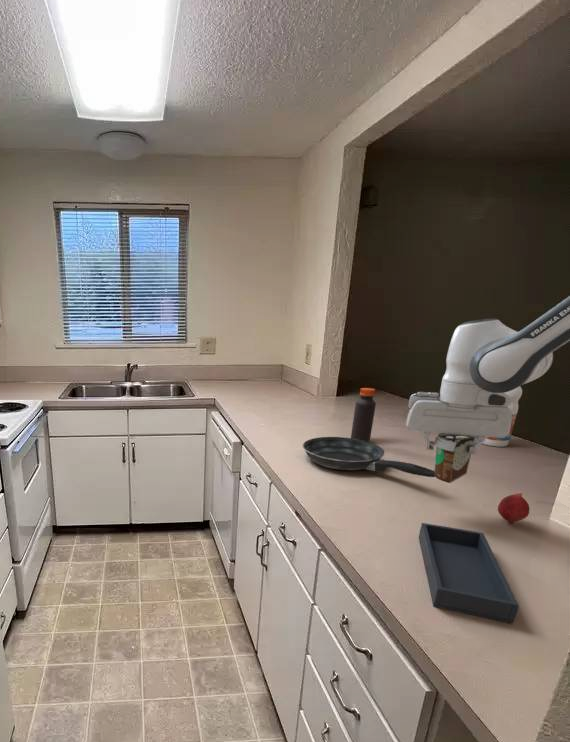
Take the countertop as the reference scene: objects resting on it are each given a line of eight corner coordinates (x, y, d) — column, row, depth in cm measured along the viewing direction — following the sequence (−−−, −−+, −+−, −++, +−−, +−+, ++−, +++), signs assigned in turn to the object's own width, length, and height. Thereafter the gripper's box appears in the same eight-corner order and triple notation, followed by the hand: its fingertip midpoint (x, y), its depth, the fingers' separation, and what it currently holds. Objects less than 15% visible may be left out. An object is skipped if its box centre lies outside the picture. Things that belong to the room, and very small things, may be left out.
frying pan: (285, 456, 150) (287, 438, 147) (337, 445, 160) (340, 427, 158) (400, 506, 113) (405, 483, 111) (458, 487, 124) (463, 465, 121)
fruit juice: (487, 438, 166) (506, 364, 156) (514, 445, 158) (536, 367, 148) (471, 441, 163) (489, 366, 153) (497, 448, 155) (518, 369, 145)
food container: (441, 466, 111) (448, 428, 108) (468, 472, 106) (476, 433, 103) (419, 477, 104) (425, 437, 101) (447, 484, 100) (455, 443, 96)
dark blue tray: (479, 547, 94) (483, 532, 93) (513, 624, 72) (519, 605, 71) (418, 537, 99) (421, 522, 97) (433, 606, 77) (437, 588, 75)
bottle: (354, 444, 162) (362, 391, 155) (347, 438, 168) (354, 387, 161) (372, 444, 161) (381, 390, 154) (365, 438, 168) (373, 387, 161)
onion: (499, 526, 103) (508, 495, 100) (491, 515, 108) (499, 486, 105) (529, 529, 101) (538, 498, 98) (518, 518, 106) (527, 488, 104)
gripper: (411, 393, 100) (401, 450, 104) (521, 399, 92) (504, 460, 96) (409, 388, 105) (400, 442, 110) (512, 393, 97) (497, 451, 102)
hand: (449, 451), depth 103 cm, fingers closed on food container, 7 cm apart
